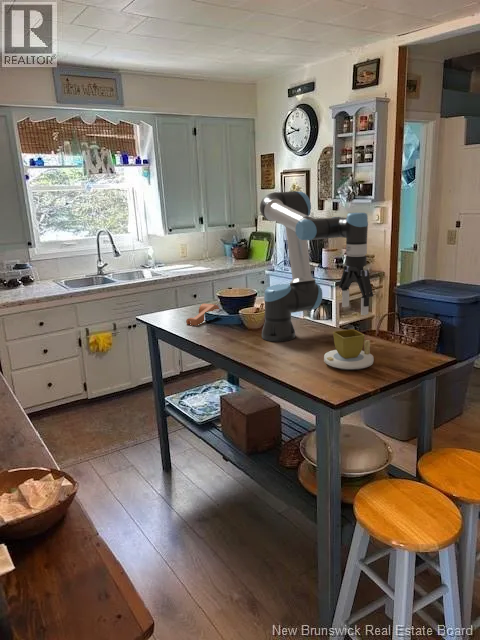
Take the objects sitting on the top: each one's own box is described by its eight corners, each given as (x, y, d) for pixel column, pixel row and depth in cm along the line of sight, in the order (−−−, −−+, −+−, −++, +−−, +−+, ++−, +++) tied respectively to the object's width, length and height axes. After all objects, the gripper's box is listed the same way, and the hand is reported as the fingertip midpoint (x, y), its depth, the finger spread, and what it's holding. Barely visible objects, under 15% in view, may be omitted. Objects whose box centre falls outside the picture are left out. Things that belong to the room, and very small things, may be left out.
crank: (208, 316, 259) (207, 302, 257) (219, 317, 255) (219, 303, 253) (184, 325, 243) (183, 310, 241) (196, 327, 239) (195, 311, 237)
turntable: (315, 356, 183) (315, 340, 182) (355, 350, 189) (356, 334, 187) (340, 372, 167) (340, 354, 165) (383, 364, 173) (384, 347, 171)
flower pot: (364, 358, 175) (365, 335, 172) (343, 361, 172) (343, 337, 170) (353, 351, 183) (353, 328, 181) (332, 354, 181) (332, 331, 178)
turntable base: (324, 361, 182) (324, 358, 182) (353, 356, 186) (353, 353, 186) (342, 372, 170) (342, 369, 170) (373, 367, 174) (373, 364, 174)
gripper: (330, 252, 187) (330, 304, 193) (366, 260, 164) (364, 319, 170) (347, 250, 189) (346, 302, 195) (384, 258, 166) (382, 316, 172)
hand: (354, 310), depth 182 cm, fingers open, 13 cm apart
